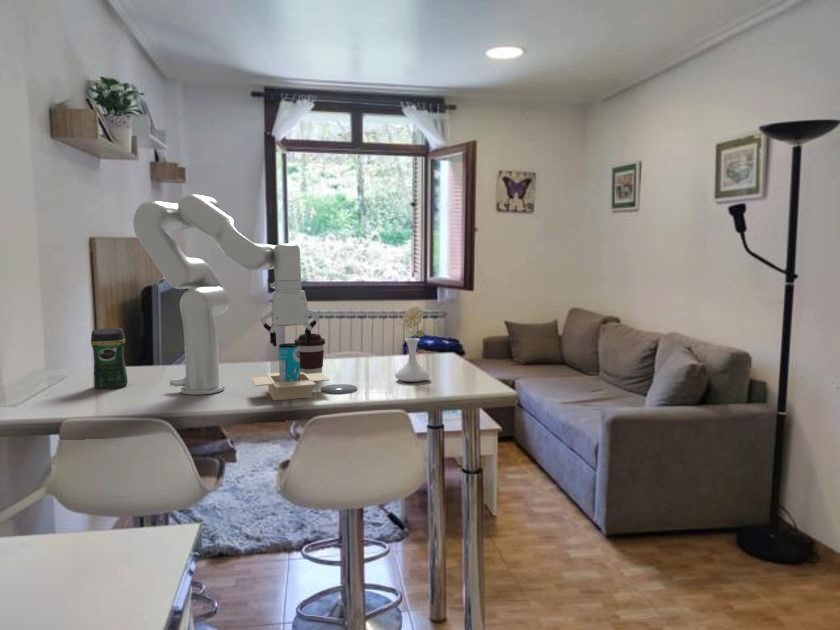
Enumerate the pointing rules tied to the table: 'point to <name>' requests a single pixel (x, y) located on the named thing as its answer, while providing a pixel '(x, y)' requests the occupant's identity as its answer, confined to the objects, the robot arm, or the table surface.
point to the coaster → (338, 389)
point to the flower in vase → (412, 348)
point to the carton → (289, 385)
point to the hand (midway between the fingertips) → (291, 344)
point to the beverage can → (289, 362)
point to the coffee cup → (311, 353)
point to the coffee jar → (109, 358)
